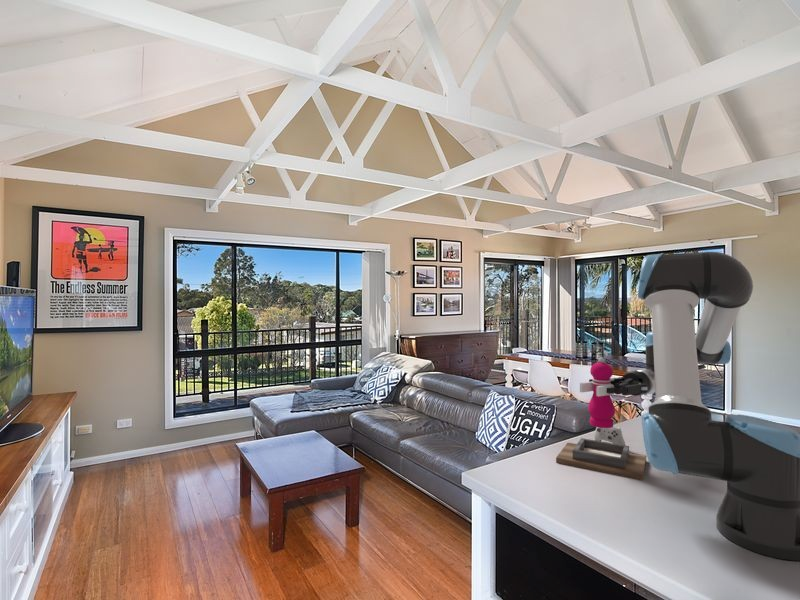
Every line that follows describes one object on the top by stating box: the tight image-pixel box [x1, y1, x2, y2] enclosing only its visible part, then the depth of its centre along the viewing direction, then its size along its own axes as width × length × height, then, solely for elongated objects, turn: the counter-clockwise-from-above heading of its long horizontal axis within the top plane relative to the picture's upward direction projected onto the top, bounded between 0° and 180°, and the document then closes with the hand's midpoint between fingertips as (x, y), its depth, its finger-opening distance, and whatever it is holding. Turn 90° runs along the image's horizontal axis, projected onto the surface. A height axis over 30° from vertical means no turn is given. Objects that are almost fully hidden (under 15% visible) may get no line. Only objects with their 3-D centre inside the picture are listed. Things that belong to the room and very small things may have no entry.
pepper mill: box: [587, 356, 616, 428], centre depth 125 cm, size 7×7×20 cm
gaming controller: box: [593, 426, 626, 445], centre depth 138 cm, size 10×4×7 cm, turn 33°
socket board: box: [555, 437, 647, 481], centre depth 125 cm, size 16×22×4 cm
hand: (589, 389), depth 123 cm, fingers closed on pepper mill, 5 cm apart
